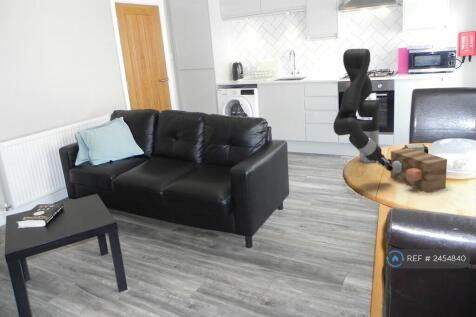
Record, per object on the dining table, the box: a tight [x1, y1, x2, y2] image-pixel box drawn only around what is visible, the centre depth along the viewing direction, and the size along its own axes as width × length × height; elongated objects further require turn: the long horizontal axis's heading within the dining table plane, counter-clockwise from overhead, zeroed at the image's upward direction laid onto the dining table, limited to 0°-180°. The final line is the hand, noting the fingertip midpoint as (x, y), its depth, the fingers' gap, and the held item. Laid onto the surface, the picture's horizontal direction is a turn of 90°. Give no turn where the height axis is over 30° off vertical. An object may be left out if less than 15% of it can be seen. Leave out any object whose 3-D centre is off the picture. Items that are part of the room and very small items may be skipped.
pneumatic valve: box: [401, 143, 429, 154], centre depth 204 cm, size 6×12×12 cm, turn 79°
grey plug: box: [392, 161, 403, 173], centre depth 188 cm, size 6×11×6 cm, turn 110°
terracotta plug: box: [405, 168, 423, 182], centre depth 176 cm, size 6×11×6 cm, turn 110°
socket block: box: [390, 147, 448, 193], centre depth 183 cm, size 23×10×13 cm, turn 20°
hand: (390, 169), depth 185 cm, fingers closed
